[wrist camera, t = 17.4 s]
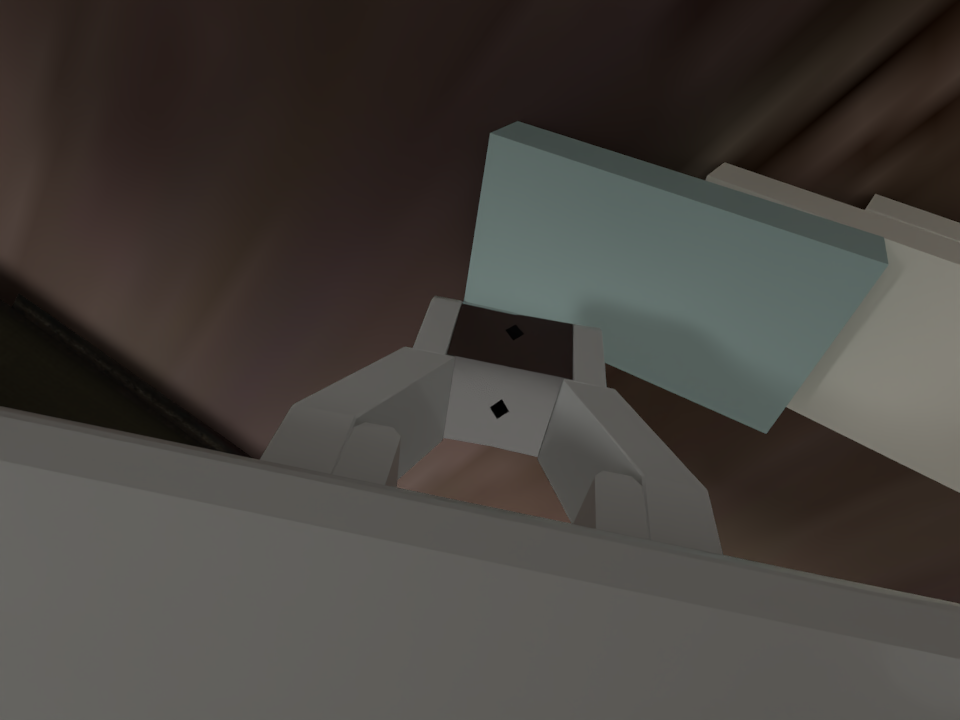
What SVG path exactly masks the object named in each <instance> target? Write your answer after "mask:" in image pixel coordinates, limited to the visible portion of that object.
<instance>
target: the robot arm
mask: <svg viewBox="0 0 960 720" xmlns="http://www.w3.org/2000/svg"><path fill="white" fill-rule="evenodd" d="M443 438H448V439H453V440H459V441H465V442H470V443H476V444H482V445H487V446H492V447H496V448H501V449H505V450H509V451H514V452H518V453H522V454H527V455H531V456H535V457H538V461H539V463H540V465H541V467H542V469H543V471H544V472H545V474H546V476H547V478H548V480H549V482H550V484H551V486H552V487H553V489H554V491H555V493H556V495H557V497H558V499H559V501H560V503H561V504H562V506H563V508H564V510H565V512H566V514H567V516H568V518H569V519H570V521H571V523H572V524H571V523H566V522H561V521H556V520H551V519H547V518H542V517H537V516H532V515H527V514H522V513H517V512H513V511H508V510H503V509H498V508H493V507H488V506H484V505H479V504H474V503H469V502H464V501H459V500H455V499H450V498H445V497H440V496H435V495H430V494H426V493H421V492H416V491H411V490H406V489H401V488H397V480H398V479H399V478H400V477H401V476H403V475H404V474H405V473H406V472H407V471H408V470H409V469H411V468H412V467H413V466H414V465H415V464H416V463H417V462H418V461H420V460H421V459H422V458H423V457H424V456H425V455H426V454H428V453H429V452H430V451H431V450H432V449H433V448H434V447H435V446H437V445H438V444H439V443H440V442H441V441H442V440H443ZM0 720H960V604H959V603H954V602H950V601H945V600H940V599H935V598H930V597H925V596H920V595H916V594H911V593H906V592H901V591H896V590H891V589H886V588H882V587H877V586H872V585H867V584H862V583H857V582H852V581H848V580H843V579H838V578H833V577H828V576H823V575H818V574H813V573H809V572H804V571H799V570H794V569H789V568H784V567H779V566H775V565H770V564H765V563H760V562H755V561H750V560H745V559H741V558H736V557H731V556H726V555H723V552H722V548H721V544H720V540H719V536H718V532H717V527H716V523H715V519H714V515H713V511H712V506H711V502H710V498H709V494H708V490H707V489H706V488H705V487H704V486H703V485H702V484H701V483H700V481H699V480H698V479H697V478H696V477H695V476H694V475H693V474H692V473H691V472H690V471H689V469H688V468H687V467H686V466H685V465H684V464H683V463H682V462H681V461H680V460H679V459H678V457H677V456H676V455H675V454H674V453H673V452H672V451H671V450H670V449H669V448H668V447H667V445H666V444H665V443H664V442H663V441H662V440H661V439H660V438H659V437H658V436H657V435H656V433H655V432H654V431H653V430H652V429H651V428H650V427H649V426H648V425H647V424H646V423H645V421H644V420H643V419H642V418H641V417H640V416H639V415H638V414H637V413H636V412H635V411H634V409H633V408H632V407H631V406H630V405H629V404H628V403H627V402H626V401H625V400H624V399H623V398H622V396H621V395H620V394H619V393H618V392H617V391H616V390H615V389H612V388H607V385H606V373H605V360H604V348H603V335H602V330H601V329H600V328H596V327H590V326H584V325H578V324H570V323H565V322H559V321H553V320H548V319H542V318H537V317H531V316H526V315H520V314H517V313H514V312H510V311H505V310H501V309H496V308H492V307H487V306H483V305H478V304H474V303H469V302H465V301H463V303H462V301H461V300H456V299H451V298H446V297H440V296H434V297H433V298H432V300H431V302H430V305H429V307H428V310H427V312H426V315H425V318H424V320H423V323H422V325H421V328H420V331H419V333H418V336H417V338H416V341H415V343H414V346H413V348H409V347H403V348H401V349H399V350H397V351H395V352H393V353H391V354H389V355H388V356H386V357H384V358H382V359H380V360H378V361H376V362H374V363H372V364H370V365H368V366H366V367H364V368H362V369H360V370H359V371H357V372H355V373H353V374H351V375H349V376H347V377H345V378H343V379H341V380H339V381H337V382H335V383H333V384H332V385H330V386H328V387H326V388H324V389H322V390H320V391H318V392H316V393H314V394H312V395H310V396H308V397H306V398H304V399H303V400H301V401H299V402H297V403H295V404H293V405H292V407H291V408H290V410H289V412H288V413H287V415H286V417H285V418H284V420H283V422H282V423H281V425H280V427H279V428H278V430H277V432H276V433H275V435H274V437H273V438H272V440H271V442H270V443H269V445H268V447H267V448H266V450H265V451H264V453H263V455H262V456H261V458H260V460H259V459H254V458H249V457H244V456H239V455H234V454H229V453H224V452H220V451H215V450H210V449H205V448H201V447H196V446H191V445H186V444H181V443H177V442H172V441H167V440H162V439H158V438H153V437H148V436H143V435H138V434H134V433H129V432H124V431H119V430H114V429H109V428H104V427H100V426H95V425H90V424H85V423H80V422H75V421H70V420H66V419H61V418H56V417H51V416H46V415H41V414H36V413H31V412H27V411H22V410H17V409H12V408H7V407H2V406H0Z"/></svg>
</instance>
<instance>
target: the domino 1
mask: <svg viewBox="0 0 960 720" xmlns="http://www.w3.org/2000/svg"><path fill="white" fill-rule="evenodd" d="M888 265H889V264H888V258H887V252H886V246H885V241H884V237H881V236H878V235H875V234H872V233H869V232H866V231H863V230H859V229H856V228H853V227H850V226H847V225H844V224H840V223H837V222H834V221H831V220H828V219H825V218H822V217H818V216H815V215H812V214H809V213H806V212H803V211H800V210H796V209H793V208H790V207H787V206H784V205H781V204H777V203H774V202H771V201H768V200H765V199H762V198H759V197H755V196H752V195H749V194H746V193H743V192H740V191H737V190H733V189H730V188H727V187H724V186H721V185H718V184H714V183H711V182H708V181H705V180H702V179H699V178H696V177H692V176H689V175H686V174H683V173H680V172H677V171H673V170H670V169H667V168H664V167H661V166H658V165H655V164H651V163H648V162H645V161H642V160H639V159H636V158H633V157H629V156H626V155H623V154H620V153H617V152H614V151H610V150H607V149H604V148H601V147H598V146H595V145H592V144H588V143H585V142H582V141H579V140H576V139H573V138H570V137H566V136H563V135H560V134H557V133H554V132H551V131H547V130H544V129H541V128H538V127H535V126H532V125H529V124H525V123H522V122H519V121H517V122H514V123H512V124H510V125H507V126H505V127H503V128H500V129H498V130H496V131H493V132H491V133H490V137H489V143H488V150H487V156H486V162H485V169H484V175H483V182H482V188H481V195H480V201H479V207H478V214H477V220H476V227H475V233H474V240H473V246H472V253H471V259H470V265H469V272H468V278H467V285H466V291H465V298H464V301H466V302H469V303H474V304H478V305H483V306H487V307H492V308H496V309H501V310H505V311H510V312H514V313H517V314H520V315H526V316H531V317H537V318H542V319H548V320H553V321H559V322H565V323H570V324H578V325H584V326H590V327H596V328H600V329H601V330H602V335H603V348H604V360H605V363H607V364H609V365H611V366H613V367H616V368H618V369H620V370H622V371H625V372H627V373H629V374H632V375H634V376H636V377H638V378H641V379H643V380H645V381H647V382H650V383H652V384H654V385H656V386H659V387H661V388H663V389H666V390H668V391H670V392H672V393H675V394H677V395H679V396H681V397H684V398H686V399H688V400H690V401H693V402H695V403H697V404H699V405H702V406H704V407H706V408H709V409H711V410H713V411H715V412H718V413H720V414H722V415H724V416H727V417H729V418H731V419H733V420H736V421H738V422H740V423H743V424H745V425H747V426H749V427H752V428H754V429H756V430H758V431H761V432H763V433H765V434H767V432H768V431H769V430H770V428H771V427H772V425H773V424H774V423H775V421H776V420H777V419H778V417H779V416H780V414H781V413H782V412H783V410H784V409H785V407H786V406H787V405H788V403H789V402H790V401H791V399H792V398H793V396H794V395H795V394H796V392H797V391H798V389H799V388H800V387H801V385H802V384H803V383H804V381H805V380H806V378H807V377H808V376H809V374H810V373H811V371H812V370H813V369H814V367H815V366H816V365H817V363H818V362H819V360H820V359H821V358H822V356H823V355H824V353H825V352H826V351H827V349H828V348H829V347H830V345H831V344H832V342H833V341H834V340H835V338H836V337H837V335H838V334H839V333H840V331H841V330H842V329H843V327H844V326H845V324H846V323H847V322H848V320H849V319H850V317H851V316H852V315H853V313H854V312H855V311H856V309H857V308H858V306H859V305H860V304H861V302H862V301H863V299H864V298H865V297H866V295H867V294H868V293H869V291H870V290H871V288H872V287H873V286H874V284H875V283H876V281H877V280H878V279H879V277H880V276H881V275H882V273H883V272H884V270H885V269H886V268H887V266H888Z"/></svg>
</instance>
